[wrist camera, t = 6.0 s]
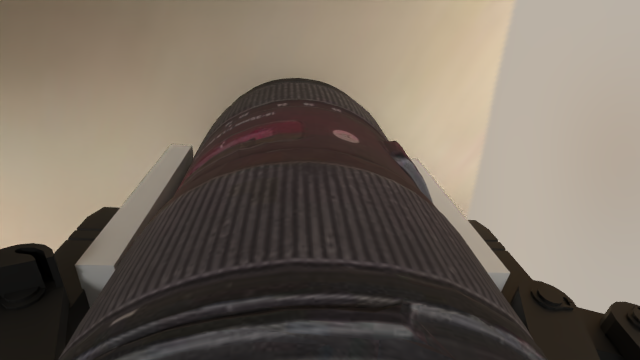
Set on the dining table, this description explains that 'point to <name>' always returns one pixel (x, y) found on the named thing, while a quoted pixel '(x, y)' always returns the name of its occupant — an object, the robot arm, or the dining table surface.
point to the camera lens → (300, 251)
